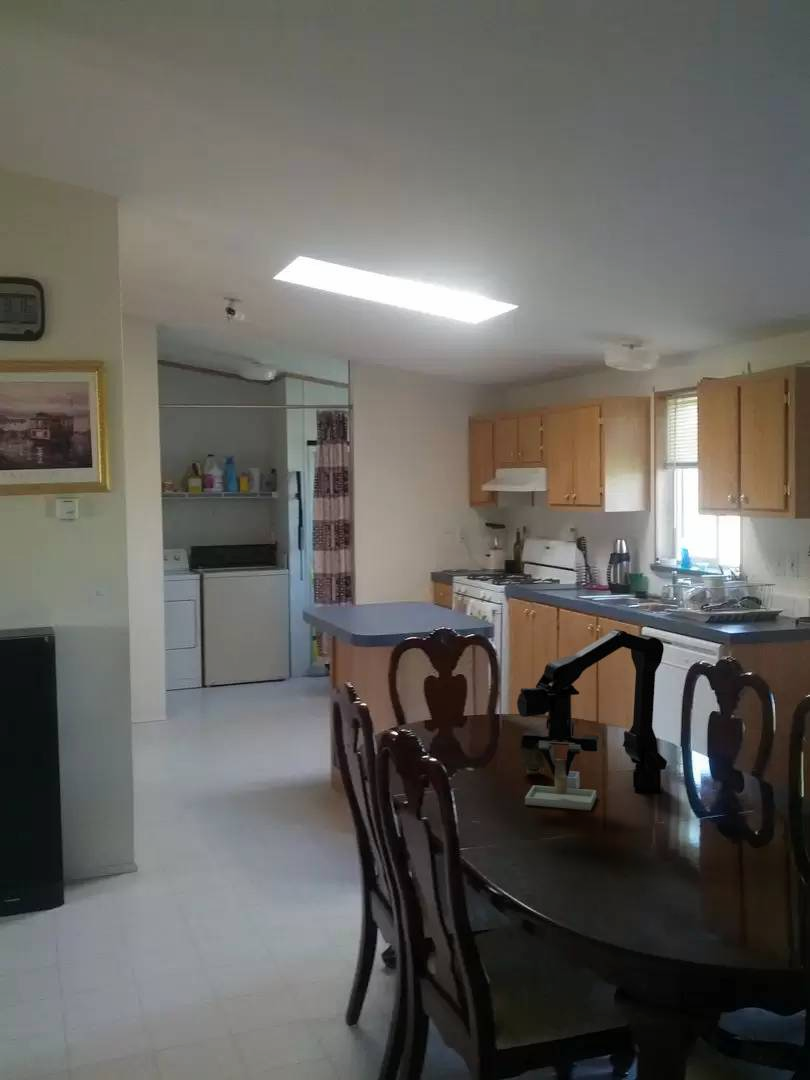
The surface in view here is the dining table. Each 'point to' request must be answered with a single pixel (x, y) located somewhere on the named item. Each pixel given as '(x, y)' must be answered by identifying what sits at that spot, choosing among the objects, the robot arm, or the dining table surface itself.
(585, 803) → the tray
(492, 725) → the dining table surface
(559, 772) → the dowel
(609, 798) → the dining table surface
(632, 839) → the dining table surface
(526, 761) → the cup
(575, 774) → the grey square sleeve
